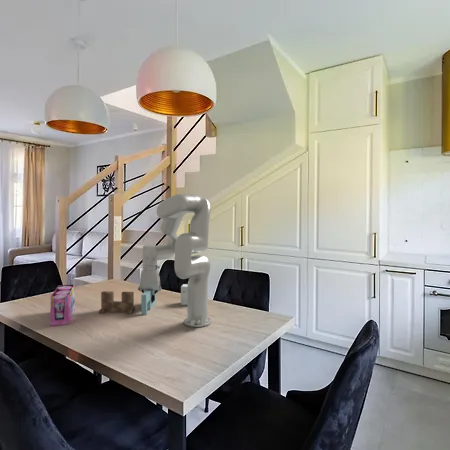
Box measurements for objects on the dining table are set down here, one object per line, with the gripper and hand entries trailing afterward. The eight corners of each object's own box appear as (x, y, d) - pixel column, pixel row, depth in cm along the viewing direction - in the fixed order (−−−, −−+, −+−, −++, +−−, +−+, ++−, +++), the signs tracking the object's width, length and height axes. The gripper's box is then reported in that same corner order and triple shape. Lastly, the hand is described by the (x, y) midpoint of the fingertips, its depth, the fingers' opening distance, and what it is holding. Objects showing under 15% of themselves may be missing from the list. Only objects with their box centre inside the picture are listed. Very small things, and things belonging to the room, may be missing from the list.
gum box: (68, 325, 147) (68, 295, 146) (49, 327, 144) (48, 297, 143) (75, 309, 169) (74, 284, 169) (58, 311, 167) (58, 285, 166)
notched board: (146, 314, 162) (146, 295, 162) (141, 314, 162) (141, 295, 162) (156, 302, 184) (156, 284, 184) (152, 302, 184) (152, 284, 184)
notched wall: (135, 309, 171) (135, 290, 171) (130, 313, 163) (130, 294, 163) (105, 308, 172) (105, 289, 171) (99, 313, 164) (98, 293, 163)
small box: (196, 302, 184) (197, 284, 183) (195, 305, 178) (195, 286, 178) (183, 302, 185) (183, 283, 184) (180, 305, 179) (180, 286, 179)
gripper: (166, 266, 177) (166, 300, 177) (136, 266, 177) (137, 299, 178) (163, 269, 169) (163, 304, 170) (132, 269, 169) (132, 303, 170)
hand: (149, 301), depth 174 cm, fingers closed on notched board, 2 cm apart
